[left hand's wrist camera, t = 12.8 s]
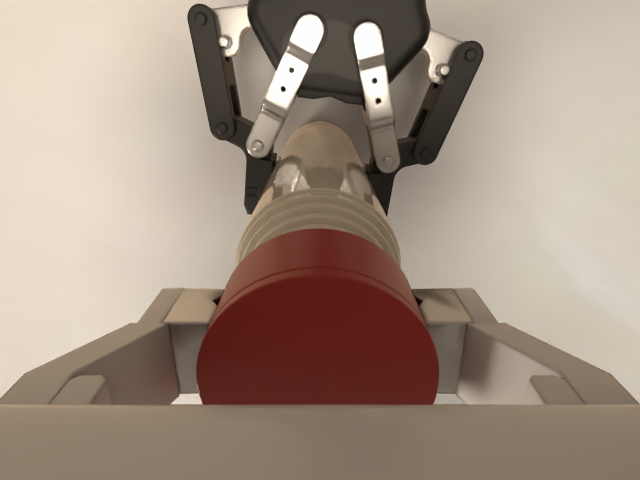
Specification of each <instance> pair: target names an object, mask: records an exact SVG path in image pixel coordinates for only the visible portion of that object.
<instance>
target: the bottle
mask: <svg viewBox="0 0 640 480" xmlns="http://www.w3.org/2000/svg"><path fill="white" fill-rule="evenodd" d="M316 228H323V229H334V230H339V231H344V232H348V233H351V234H354V235H357V236H360V237H362V238H364V239H366V240H368V241H370V242H372V243H374V244H375V245H377V246H378V247H379V248H381V249H382V250H384V251H385V252H386V253H387V254H388V255H389V256H390V257H391V258H392V259H393V260H394V261H395V262H396V263H397V265H398V266H399V267H400V263H401V258H400V250H399V246H398V242H397V239H396V237H395V234H394V232H393V230H392V228H391V225H390V223H389V221H388V219H387V217H386V214H385V212H384V210H383V208H382V206H381V204H380V201H379V199H378V197H377V195H376V193H375V191H374V188H373V186H372V184H371V182H370V180H369V177H368V175H367V173H366V171H365V169H364V167H363V164H362V162H361V160H360V158H359V156H358V154H357V151H356V149H355V147H354V145H353V143H352V141H351V139H350V137H349V136H348V135H347V133H346V132H345V131H344V130H343V129H341V128H340V127H338V126H336V125H335V124H332V123H329V122H325V121H314V122H309V123H306V124H304V125H302V126H300V127H299V128H297V129H296V130H295V131H294V132H293V133H292V134H291V135H290V137H289V138H288V140H287V142H286V144H285V146H284V148H283V150H282V152H281V154H280V156H279V159H278V161H277V163H276V165H275V167H274V169H273V171H272V173H271V175H270V178H269V180H268V182H267V184H266V186H265V188H264V190H263V192H262V194H261V196H260V199H259V201H258V203H257V205H256V207H255V209H254V211H253V213H252V215H251V217H250V220H249V222H248V224H247V226H246V228H245V230H244V232H243V234H242V236H241V239H240V243H239V246H238V251H237V266H238V265H239V263H240V262H241V261H242V260H243V259H244V258H245V257H246V256H247V255H248V254H249V253H250V252H252V251H253V250H254V249H255V248H257V247H258V246H260V245H261V244H263V243H265V242H266V241H268V240H270V239H272V238H274V237H277V236H279V235H282V234H285V233H289V232H292V231H297V230H303V229H316Z"/></svg>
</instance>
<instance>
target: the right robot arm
mask: <svg viewBox="0 0 640 480" xmlns="http://www.w3.org/2000/svg"><path fill="white" fill-rule="evenodd" d="M188 24H189V28H190V33H191V38H192V43H193V48H194V53H195V58H196V62H197V67H198V72H199V77H200V82H201V87H202V91H203V96H204V101H205V106H206V111H207V116H208V120H209V125H210V130H211V133H212V134H213V136H214V137H215V138H217V139H219V140H226V141H228V142H230V143H232V144H234V145H236V146H238V147H240V148H241V149H242V150H243V151H244V153H245V155H246V159H247V164H246V182H245V200H244V205H245V208H246V211H247V214H252V213H253V211H254V209H255V207H256V205H257V203H258V201H259V199H260V196H261V194H262V192H263V190H264V188H265V186H266V184H267V182H268V180H269V178H270V175H271V173H272V171H273V169H274V167H275V165H276V161H277V153H273V149H274V143H275V140H276V138H277V136H278V134H279V132H280V130H281V128H282V126H283V123H284V121H285V119H286V117H287V115H288V113H289V111H290V109H291V107H292V105H293V103H294V100H295V98H296V96H297V95H298V97H302V98H310V99H316V98H323V97H333V98H336V99H338V100H340V101H343V102H345V103H351V104H359V105H361V110H362V115H363V119H364V123H365V127H366V131H367V136H368V142H369V147H370V152H371V157H370V163H369V164H365V168H364V169H365V171H366V173H367V175H368V177H369V180H370V182H371V184H372V186H373V188H374V191H375V193H376V195H377V197H378V199H379V201H380V204H381V206H382V208H383V210H384V212H385V214H386V217H387V213H388V208H389V202H390V197H391V192H392V186H393V181H394V177H395V175H396V173H397V172H398V171H399V170H400V169H401V168H403V167H406V166H410V165H415V164H421V165H428V164H430V163H432V162H433V161H434V160H435V159H436V157H437V155H438V153H439V151H440V149H441V147H442V145H443V142H444V140H445V138H446V136H447V134H448V132H449V130H450V127H451V125H452V123H453V121H454V119H455V117H456V115H457V112H458V110H459V108H460V106H461V104H462V102H463V100H464V97H465V95H466V93H467V91H468V89H469V87H470V85H471V82H472V80H473V78H474V76H475V74H476V72H477V70H478V68H479V65H480V63H481V61H482V59H483V48H482V46H481V45H480V44H479V43H478V42H476V41H464V42H461V41H458V40H456V39H454V38H451V37H449V36H447V35H444V34H442V33H439V32H437V31H435V30H432V29H430V20H429V17H428V14H427V9H426V0H249V1H248V4H245V5H238V6H230V7H222V8H215V9H212V8H210V7H208V6H206V5H204V4H196V5H194V6H192V7H191V8H190V10H189V12H188ZM251 28H252V29H253V31H254V32H255V34H256V36H257V38H258V40H259V41H260V43H261V45H262V47H263V49H264V50H265V52H266V54H267V56H268V58H269V59H270V61H271V63H272V65H273V67H274V68H275V70H276V73H275V76H274V78H273V80H272V82H271V85H270V87H269V89H268V91H267V94H266V96H265V98H264V101H263V103H262V106H261V109H260V112H259V114H258V116H257V119H256V121H255V123H254V122H252V121H250V120H248V119H246V118H244V117H242V113H241V107H240V102H239V96H238V91H237V85H236V79H235V74H234V68H233V62H232V57H235V56H237V55H238V54H239V53H240V52H241V50H242V47H243V36H244V34H245V33H246V31H248V30H249V29H251ZM419 51H421V52H422V53H423V54H424V56H425V59H426V64H425V68H424V75H425V77H426V79H427V80H428V81H429V82H431V84H430V86H429V89H428V91H427V93H426V96H425V98H424V100H423V102H422V105H421V107H420V109H419V112H418V114H417V116H416V119H415V121H414V123H413V126H412V128H411V130H410V132H409V135H408V137H406V138H402V139H397V137H396V131H395V117H394V111H393V105H392V99H391V93H390V88H389V84H390V83H391V82H392V81H393V80H394V79H395V77H396V76H397V75H398V74H399V73H400V72H401V71H402V70H403V69H404V68H405V67H406V66H407V64H408V63H409V62H410V61H411V60H412V59H413V58H414V57H415V56H416V55H417V54H418V53H419Z"/></svg>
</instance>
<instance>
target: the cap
mask: <svg viewBox="0 0 640 480" xmlns="http://www.w3.org/2000/svg"><path fill="white" fill-rule="evenodd" d="M439 375H440V372H439V360H438V355H437V351H436V347H435V345H434V342H433V340H432V338H431V335H430V333H429V331H428V328H427V326H426V323H425V321H424V319H423V316H422V314H421V312H420V309H419V307H418V304H417V302H416V300H415V297H414V295H413V292H412V290H411V288H410V285H409V283H408V281H407V278H406V276H405V275H404V273H403V272H402V270H401V268H400V267H399V266H398V265H397V263H396V262H395V261H394V260H393V259H392V258H391V257H390V256H389V255H388V254H387V253H386V252H385V251H384V250H382V249H381V248H379V247H378V246H377V245H375V244H374V243H372V242H370V241H368V240H366V239H364V238H362V237H360V236H357V235H354V234H351V233H348V232H344V231H339V230H334V229H323V228H316V229H303V230H297V231H292V232H289V233H285V234H282V235H279V236H277V237H274V238H272V239H270V240H268V241H266V242H265V243H263V244H261V245H260V246H258V247H257V248H255V249H254V250H253V251H252V252H250V253H249V254H248V255H247V256H246V257H245V258H244V259H243V260H242V261H241V262H240V263H239V265H238V266H237V268H236V269H235V270H234V272H233V273H232V275H231V277H230V279H229V281H228V283H227V285H226V288H225V290H224V292H223V295H222V297H221V299H220V302H219V304H218V306H217V308H216V311H215V313H214V315H213V318H212V320H211V322H210V325H209V327H208V329H207V332H206V334H205V336H204V338H203V341H202V344H201V347H200V350H199V353H198V358H197V364H196V381H197V387H198V392H199V396H200V398H201V401H202V404H203V405H433V403H434V401H435V398H436V394H437V390H438V386H439Z"/></svg>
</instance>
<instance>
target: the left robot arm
mask: <svg viewBox="0 0 640 480" xmlns="http://www.w3.org/2000/svg"><path fill="white" fill-rule="evenodd" d="M224 290H225V289H185V288H167V289H162V290H161V291H160V293H159V294H158V296H157V297H156V298H155V300H154V301H153V302H152V304H151V305H150V306H149V308H148V309H147V310H146V312H145V313H144V315H143V316H142V317H141V319H140V320H139V321H138V323H130V324H128V325H126V326H124V327H122V328H119V329H117V330H115V331H113V332H111V333H109V334H107V335H105V336H103V337H101V338H98V339H96V340H94V341H92V342H90V343H88V344H86V345H84V346H82V347H80V348H77V349H75V350H73V351H71V352H69V353H67V354H65V355H63V356H61V357H59V358H56V359H54V360H52V361H50V362H48V363H46V364H44V365H42V366H40V367H38V368H35V369H33V370H31V371H29V372H27V373H25V374H24V375H23V376H22V377H21V378H20V379H19V380H18V381H17V382H16V383H15V384H14V385H13V386H12V387H11V388H10V389H9V390H8V391H7V392H6V393H5V394H4V395H3V396H2V397H1V398H0V480H640V404H639V403H638V402H637V401H636V400H635V399H634V398H633V397H632V395H631V394H630V393H629V392H628V391H627V390H626V389H625V388H624V387H623V386H622V385H621V384H620V383H619V382H618V381H617V380H616V379H615V378H614V377H613V376H612V375H611V374H610V373H608V372H605V371H603V370H601V369H599V368H597V367H595V366H593V365H591V364H589V363H587V362H585V361H583V360H581V359H579V358H576V357H574V356H572V355H570V354H568V353H566V352H564V351H562V350H560V349H558V348H556V347H554V346H552V345H549V344H547V343H545V342H543V341H541V340H539V339H537V338H535V337H533V336H531V335H529V334H527V333H525V332H523V331H520V330H518V329H516V328H514V327H512V326H510V325H508V324H506V323H498V322H497V320H496V319H495V317H494V316H493V315H492V313H491V312H490V310H489V309H488V308H487V306H486V305H485V304H484V302H483V301H482V299H481V298H480V297H479V295H478V294H477V293H476V291H475V290H474V289H472V288H458V289H452V288H444V289H411V290H412V292H413V295H414V297H415V300H416V302H417V304H418V307H419V309H420V312H421V314H422V316H423V319H424V321H425V323H426V326H427V328H428V331H429V333H430V335H431V338H432V340H433V342H434V345H435V347H436V351H437V355H438V360H439V372H440V375H439V386H438V390H437V393H446V394H457V396H458V397H459V398H460V399H461V400H462V401H463V402H464V403H466V404H467V405H170V404H171V403H172V402H173V401H174V400H175V399H176V398H178V397H179V394H189V393H199V392H198V387H197V381H196V364H197V358H198V353H199V350H200V347H201V344H202V341H203V338H204V336H205V334H206V332H207V329H208V327H209V325H210V322H211V320H212V318H213V315H214V313H215V311H216V308H217V306H218V304H219V302H220V299H221V297H222V295H223V292H224Z"/></svg>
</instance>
